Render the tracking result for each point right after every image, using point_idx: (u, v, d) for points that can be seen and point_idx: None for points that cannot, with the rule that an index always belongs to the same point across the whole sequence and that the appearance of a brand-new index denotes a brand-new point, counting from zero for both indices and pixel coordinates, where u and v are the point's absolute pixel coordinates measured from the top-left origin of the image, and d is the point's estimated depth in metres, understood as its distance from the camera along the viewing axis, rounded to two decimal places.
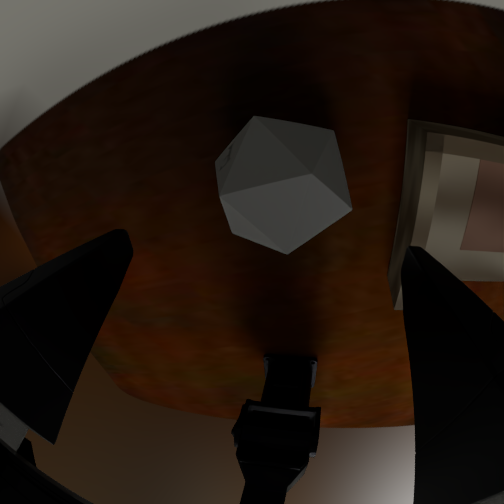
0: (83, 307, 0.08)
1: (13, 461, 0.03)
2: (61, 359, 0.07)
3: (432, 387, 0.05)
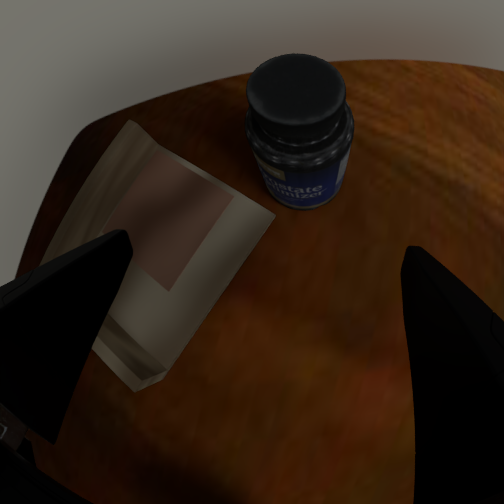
0: (83, 307, 0.08)
1: (13, 461, 0.03)
2: (60, 359, 0.07)
3: (432, 387, 0.05)
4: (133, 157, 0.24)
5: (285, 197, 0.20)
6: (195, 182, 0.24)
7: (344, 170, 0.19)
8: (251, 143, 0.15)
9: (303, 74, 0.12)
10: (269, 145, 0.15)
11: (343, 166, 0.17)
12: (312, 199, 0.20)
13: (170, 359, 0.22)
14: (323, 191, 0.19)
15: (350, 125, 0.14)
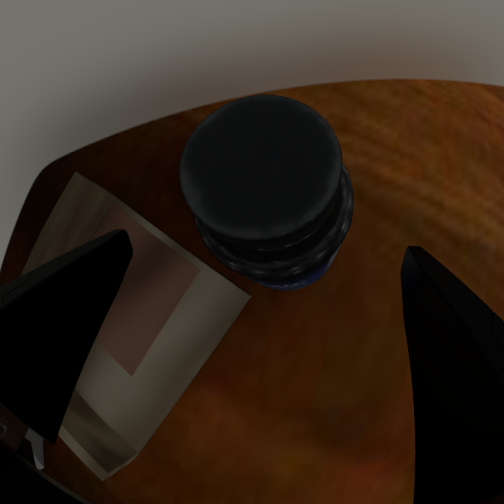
0: (83, 307, 0.08)
1: (13, 461, 0.03)
2: (61, 359, 0.07)
3: (432, 387, 0.05)
4: (85, 216, 0.20)
5: (260, 283, 0.16)
6: (155, 248, 0.20)
7: None
8: (201, 236, 0.11)
9: (271, 135, 0.08)
10: (223, 246, 0.10)
11: (336, 253, 0.13)
12: (293, 287, 0.15)
13: (140, 443, 0.18)
14: (307, 281, 0.14)
15: (347, 208, 0.10)
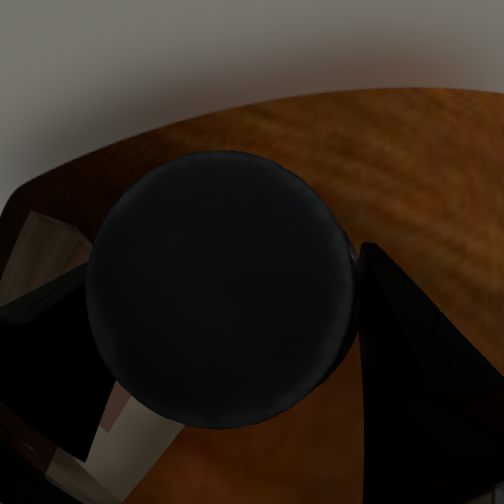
0: None
1: (13, 461, 0.03)
2: (93, 372, 0.07)
3: (375, 388, 0.06)
4: (47, 259, 0.16)
5: None
6: None
7: None
8: None
9: (224, 240, 0.05)
10: None
11: None
12: None
13: (122, 494, 0.14)
14: None
15: (353, 321, 0.07)
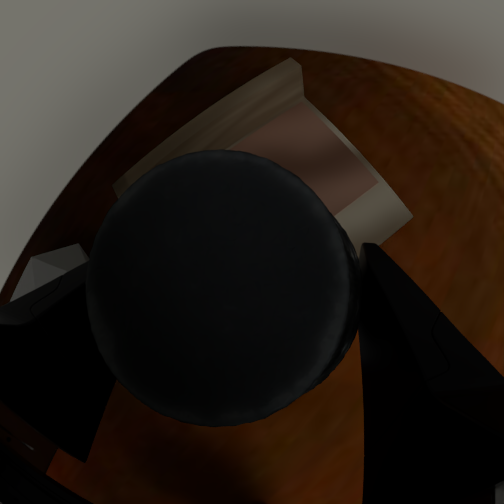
0: None
1: (13, 461, 0.03)
2: (94, 372, 0.07)
3: (375, 388, 0.06)
4: (279, 98, 0.21)
5: None
6: (340, 151, 0.21)
7: None
8: None
9: (222, 239, 0.05)
10: None
11: None
12: None
13: None
14: None
15: (352, 320, 0.07)
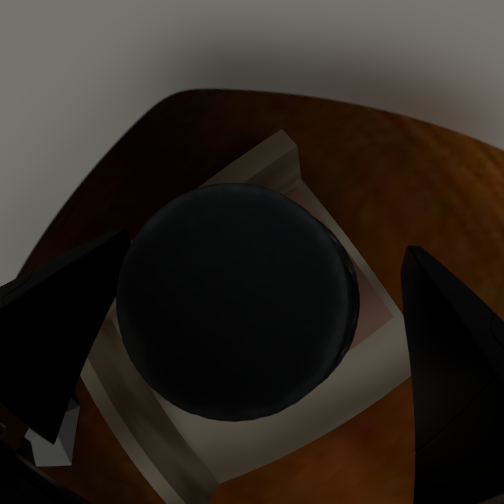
0: (83, 307, 0.08)
1: (13, 461, 0.03)
2: (61, 359, 0.07)
3: (432, 387, 0.05)
4: None
5: None
6: None
7: None
8: None
9: (242, 263, 0.05)
10: None
11: None
12: None
13: (228, 475, 0.15)
14: None
15: (350, 328, 0.07)
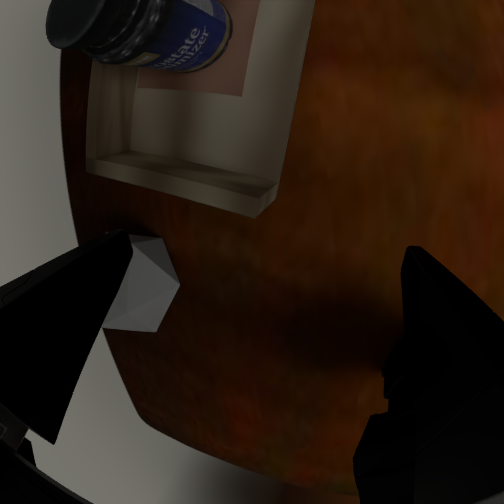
0: (83, 307, 0.08)
1: (13, 461, 0.03)
2: (61, 359, 0.07)
3: (432, 387, 0.05)
4: None
5: (189, 64, 0.16)
6: None
7: (207, 0, 0.12)
8: (104, 62, 0.12)
9: None
10: (111, 50, 0.11)
11: None
12: (207, 44, 0.14)
13: (276, 168, 0.20)
14: (205, 30, 0.13)
15: None
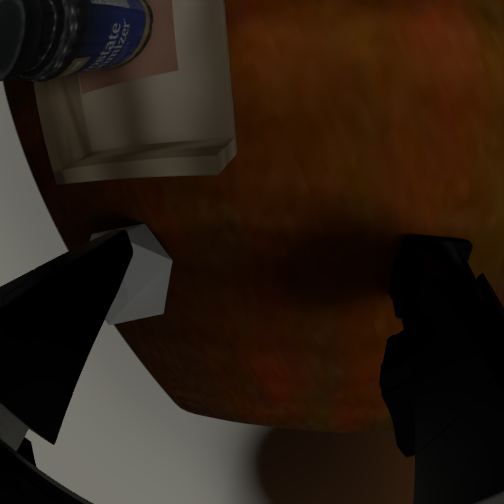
0: (83, 307, 0.08)
1: (13, 461, 0.03)
2: (61, 359, 0.07)
3: (432, 387, 0.05)
4: None
5: (120, 56, 0.15)
6: None
7: None
8: (42, 80, 0.11)
9: None
10: (44, 67, 0.10)
11: None
12: (132, 33, 0.14)
13: (228, 125, 0.19)
14: (126, 22, 0.12)
15: None
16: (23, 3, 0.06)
